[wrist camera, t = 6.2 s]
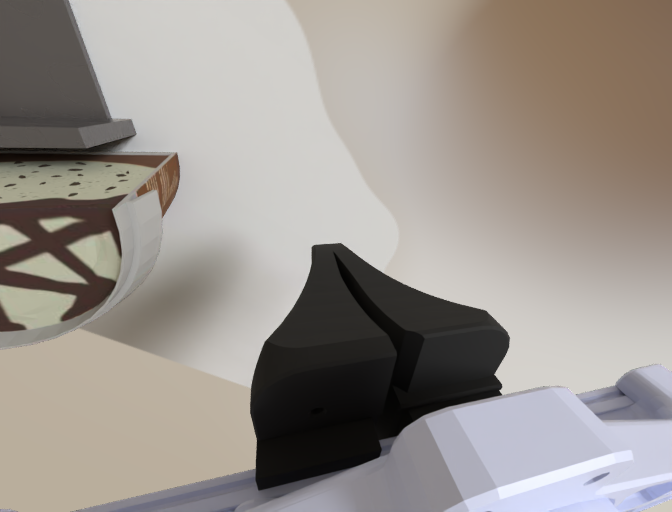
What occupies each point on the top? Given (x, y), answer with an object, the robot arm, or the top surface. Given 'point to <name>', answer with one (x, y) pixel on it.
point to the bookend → (50, 81)
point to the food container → (76, 235)
